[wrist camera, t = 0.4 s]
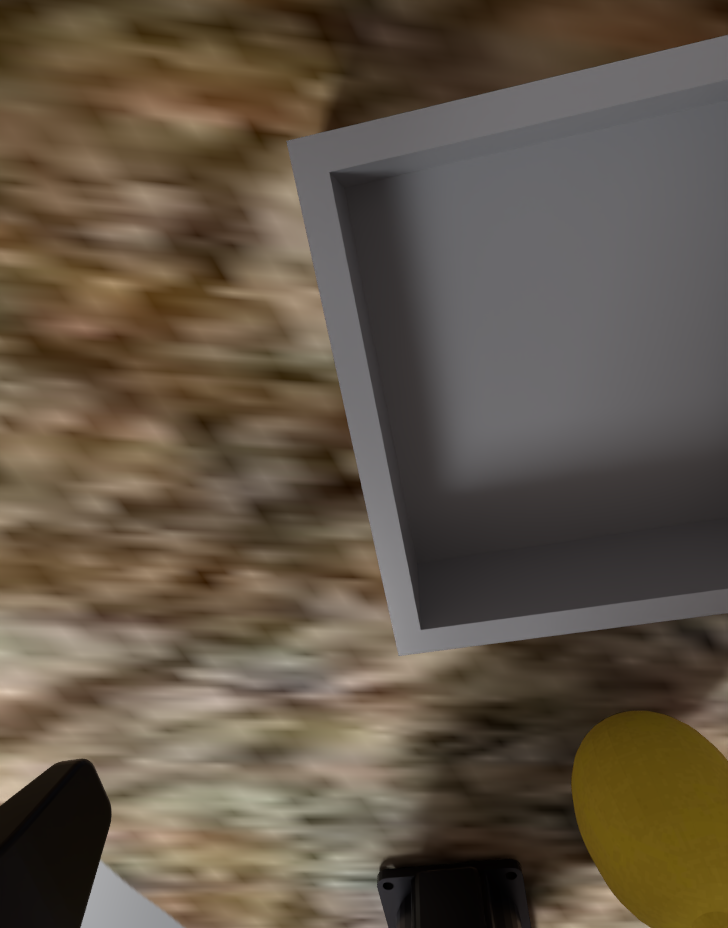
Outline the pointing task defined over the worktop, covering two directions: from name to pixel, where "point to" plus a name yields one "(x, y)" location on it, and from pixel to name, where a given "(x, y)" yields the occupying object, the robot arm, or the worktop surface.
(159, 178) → the worktop surface
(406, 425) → the box
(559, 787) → the worktop surface
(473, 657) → the worktop surface
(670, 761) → the lemon
